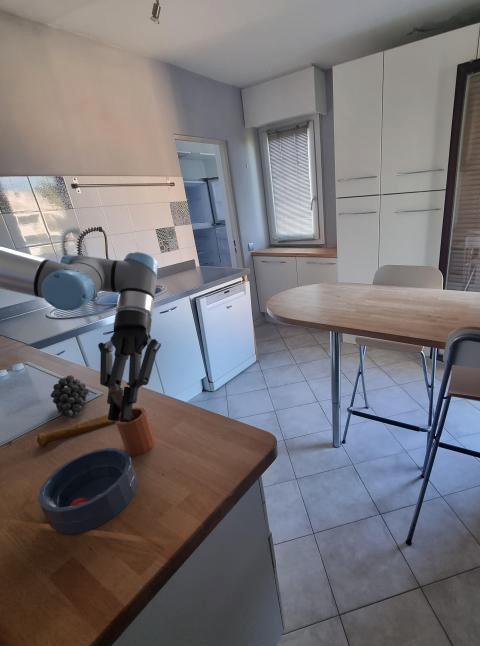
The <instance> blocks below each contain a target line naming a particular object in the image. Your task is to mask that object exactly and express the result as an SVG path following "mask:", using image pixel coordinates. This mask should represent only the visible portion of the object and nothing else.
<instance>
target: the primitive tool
mask: <svg viewBox="0 0 480 646" xmlns="http://www.w3.org/2000/svg"><path fill="white" fill-rule="evenodd" d="M120 413H121V412H120ZM113 424H114V425H115V424H116V423H115V421H112V420H108V414H105V415H102V416H99V417H95V418H92V419H88V420H87V421H83V422H79V423H76V424H73V425H70V426H66V427H63V428H60V429H57V430H53V431H48V432H45V433H43V432H39V433H38V434H37V438H36V442H37V444H38V447H39V448H42V449H44V448H45V447H47V446H48V445H49V444H52V443H54V442H58V441H61V440H64V439H68V438H70V437H73V436H76V435H80V434H84V433H86V432H90V431H93V430H97V429H101V428H104V427H106V426H111V425H113Z"/></svg>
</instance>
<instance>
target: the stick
mask: <svg viewBox="0 0 480 646" xmlns="http://www.w3.org/2000/svg"><path fill="white" fill-rule="evenodd" d="M108 392H109V393H110V395H111V397H112V398H113V400H114V402H115V404H116V405H117V407H118V409H119V411H120V412H121V406H122V400H123V395H122V394H121V392H120V390H119V388H118V387H116V386H113V387H111V388H110V389H109V388H108ZM133 420H135V418H134V416H133V414H132V412H131V420H128V421H126V420H125V421H126V422H130V421H133Z"/></svg>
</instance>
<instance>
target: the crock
mask: <svg viewBox="0 0 480 646" xmlns="http://www.w3.org/2000/svg"><path fill="white" fill-rule="evenodd" d="M132 414H133V416H134V418H135V420H133V421H130V422H126V421H125V420H122V419H120V416H119V421H115V423H114V424H115V426H116V429H117V431H118V434H119V437H120V439H121V442H122V446H123V449H124V451H126V452H127V454H128V455H129V456H139V455H143V454H145V453H146V452H148V451H150V450H151V449H152V448H153V446H154V445H155V438H154V437H155V436H154V435H153V431H152V428H151V425H150V424H151V423H150V420H149V418H148V415H147V411H146V409H145V408H143V407H140V406H137V407H132Z"/></svg>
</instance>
